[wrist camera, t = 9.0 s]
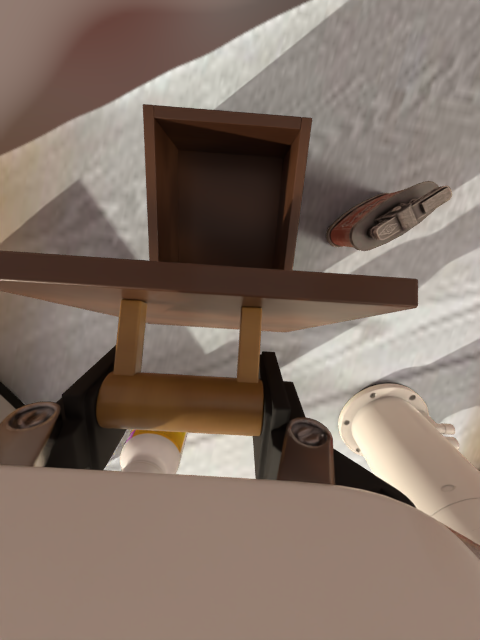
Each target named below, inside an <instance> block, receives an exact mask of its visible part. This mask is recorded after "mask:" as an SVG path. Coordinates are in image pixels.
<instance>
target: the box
mask: <svg viewBox="0 0 480 640" xmlns="http://www.w3.org/2000/svg"><path fill="white" fill-rule="evenodd" d="M143 119H144V142H145V166H146V189H147V213H148V236H149V260H150V261H160V262H175V263H190V264H204V265H219V266H234V267H248V268H263V269H278V270H293V263H294V255H295V247H296V240H297V232H298V224H299V217H300V209H301V201H302V194H303V186H304V178H305V171H306V163H307V155H308V147H309V140H310V132H311V124H312V118H306V117H302V118H301V117H294V116H281V115H269V114H257V113H244V112H232V111H219V110H207V109H194V108H182V107H170V106H157V105H146V104H143Z"/></svg>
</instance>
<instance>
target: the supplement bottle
mask: <svg viewBox="0 0 480 640" xmlns="http://www.w3.org/2000/svg"><path fill="white" fill-rule="evenodd" d="M187 434H188V432H171V431H152V430H134V429H133V430H132V432H131V434H130V436H129V438H128V440H127V441H126V443H125V445H124V447H123V449H122V451H121V455H120V464H121V468H122V470H121V471H125V472H143V473H161V474H175V473H176V472H177V470H178V467H179V464H180V460H181V456H182V452H183V449H184V445H185V441H186V437H187Z"/></svg>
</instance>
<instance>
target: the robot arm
mask: <svg viewBox="0 0 480 640" xmlns="http://www.w3.org/2000/svg"><path fill="white" fill-rule="evenodd" d="M115 352H116V345H115V346H114V347H113V348H112V349H111V350H110V351H109V352H108V353H107V354H106V355H105V356H103V357H102V358H101V359H100V360H99V361H98V362H97V363H96V364H95V365H94V366H93V367H91V368H90V369H89V370H88V371H87V372H86V373H85V374H84V375H83V376H82V377H81V378H80V379H78V380H77V381H76V382H75V383H74V384H73V385H72V386H71V387H70V388H69V389H68V390H66V391H65V392H64V393H63V394H62V398H61V399H60V400H59V401H58V402H57V403H54V402H37V403H32V404H29V405H25V406H23V407H21V408H18V409H16V410H15V411H13V412H12V413H10V414H9V415H8V416H7V417H6V418H5V419H4V420H3V421H2V422H1V423H0V640H480V472H479V471H478V470H477V469H476V468H475V467H474V466H473V465H472V464H471V463H470V462H469V461H468V460H467V459H466V458H465V457H464V456H463V455H462V454H461V453H460V452H459V451H458V450H459V443H458V441H457V440H456V439H455V438H454V437H444V436H443V435H442V434H451V435H452V434H454V433H455V428H454V426H453V425H451V424H443V423H441V424H437V423H436V422H435V421H434V420H433V419H432V418H431V417H430V416H429V413H428V408H427V405H426V404H425V402H424V400H423V399H422V398H421V397H420V396H419V395H418V394H417V393H416V392H414V391H413V390H412V389H410V388H408V387H406V386H403V385H399V384H390V383H386V384H378V385H375V386H371V387H368V388H366V389H364V390H362V391H360V392H359V393H357V394H356V395H354V396H353V397H352V398H351V399H350V400H349V401H348V402H347V403H346V405H345V406H344V408H343V409H342V411H341V413H340V417H339V423H338V427H339V433H340V435H341V437H342V439H343V441H344V443H345V444H346V446H347V447H348V448H349V449H350V450H352V451H353V452H354V453H356V454H359V455H361V456H364V457H365V459H366V461H367V463H368V465H369V466H370V468H371V470H372V472H373V473H371V472H369V471H368V470H366V469H365V468H363V467H362V466H360V465H358V464H357V463H355V462H354V461H352V460H351V459H349V458H347V457H346V456H344V455H343V454H341V453H340V452H338V451H337V450H335V449H333V438H332V435H331V433H330V431H329V430H328V428H327V427H325V426H324V425H323V424H322V423H320V422H318V421H316V420H313V419H311V418H305V415H304V412H303V409H302V406H301V403H300V401H299V398H298V395H297V392H296V389H295V387H294V384H293V382H285V381H283V379H282V375H281V372H280V369H279V365H278V362H277V358H276V355H275V352H263V351H262V355H260V359H259V378H258V379H260V380H262V383H263V392H264V412H263V425H262V431H261V434H260V436H253V445H254V460H255V475H256V479H247V478H231V477H214V476H197V475H179V474H161V473H143V472H125V471H106V470H104V468H105V466H106V465H107V463H108V461H109V459H110V458H111V456H112V454H113V452H114V451H115V449H116V447H117V445H118V444H119V442H120V440H121V438H122V437H123V435H124V433H125V431H126V430H127V429H115V428H103V427H101V426H100V425H99V424H98V422H97V418H96V403H97V397H98V393H99V390H100V387H101V385H102V383H103V381H104V379H105V378H106V376H107V375H108V374H109V373H111V372H113V371H114V362H115ZM441 433H442V434H441Z"/></svg>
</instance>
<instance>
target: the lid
mask: <svg viewBox="0 0 480 640" xmlns="http://www.w3.org/2000/svg"><path fill="white" fill-rule="evenodd" d="M0 291H4V292H8V293H13V294H17V295H22V296H26V297H31V298H36V299H40V300H45V301H49V302H54V303H58V304H63V305H67V306H72V307H76V308H81V309H85V310H90V311H94V312H99V313H103V314H108V315H113V316H117V317H119V323H118V333H117V342H116V352H115V362H114V371H113V372H111V373H109V374H108V375H107V376H106V378H105V379H104V381H103V383H102V385H101V387H100V390H99V393H98V397H97V403H96V418H97V422H98V424H99V425H100V426H101V427H103V428H115V429H134V430H152V431H171V432H189V433H208V434H226V435H244V436H260V434H261V431H262V425H263V412H264V392H263V383H262V380H260V379H258V378H259V359H260V341H261V331H272V332H290V331H295V330H301V329H306V328H311V327H317V326H322V325H327V324H333V323H338V322H343V321H349V320H354V319H359V318H365V317H370V316H375V315H381V314H386V313H391V312H397V311H402V310H408V309H413V308H417V306H418V280H417V279H410V278H396V277H381V276H366V275H352V274H337V273H322V272H307V271H293V270H278V269H263V268H248V267H234V266H219V265H204V264H190V263H175V262H160V261H145V260H131V259H116V258H101V257H87V256H72V255H57V254H42V253H28V252H13V251H0ZM145 323H149V324H161V325H177V326H192V327H208V328H224V329H240V331H239V348H238V364H237V378H229V377H212V376H195V375H178V374H161V373H144V372H141V366H142V355H143V345H144V334H145Z"/></svg>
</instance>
